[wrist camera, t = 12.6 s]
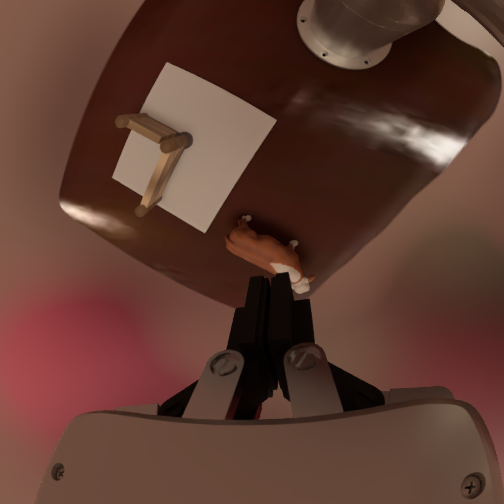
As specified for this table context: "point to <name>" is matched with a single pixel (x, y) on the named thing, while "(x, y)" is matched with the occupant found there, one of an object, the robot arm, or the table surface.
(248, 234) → the bull figurine
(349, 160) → the table surface
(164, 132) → the fixed fence section
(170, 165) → the fence panel
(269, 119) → the card
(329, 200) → the table surface
